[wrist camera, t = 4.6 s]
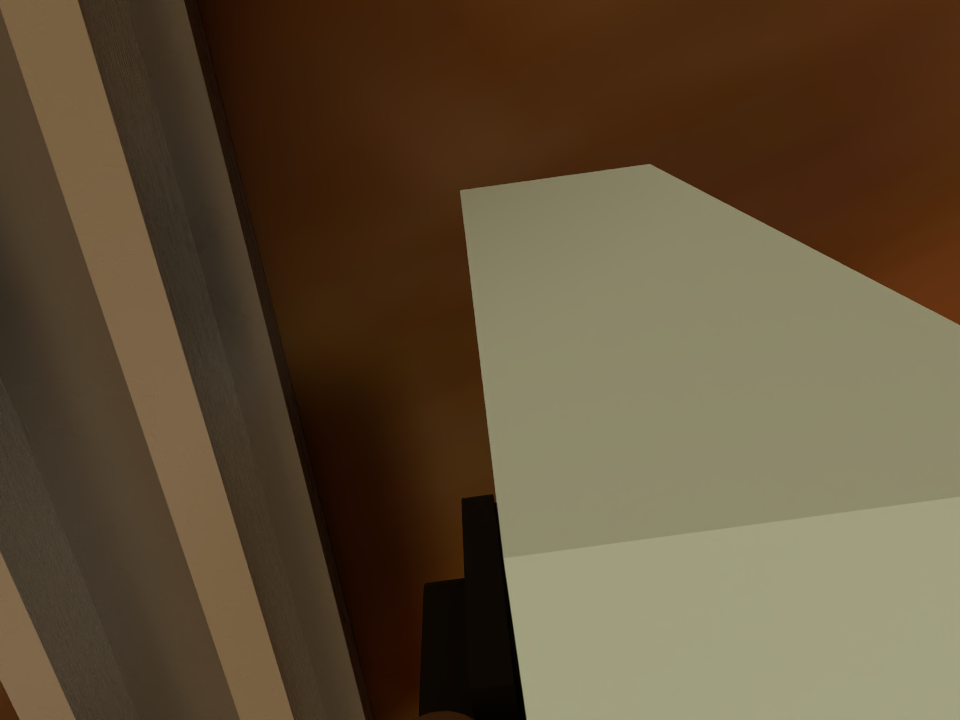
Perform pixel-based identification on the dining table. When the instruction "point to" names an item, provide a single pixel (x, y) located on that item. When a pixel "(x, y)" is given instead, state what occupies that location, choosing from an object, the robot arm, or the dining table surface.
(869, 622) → the door panel
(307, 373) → the dining table surface
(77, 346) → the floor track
